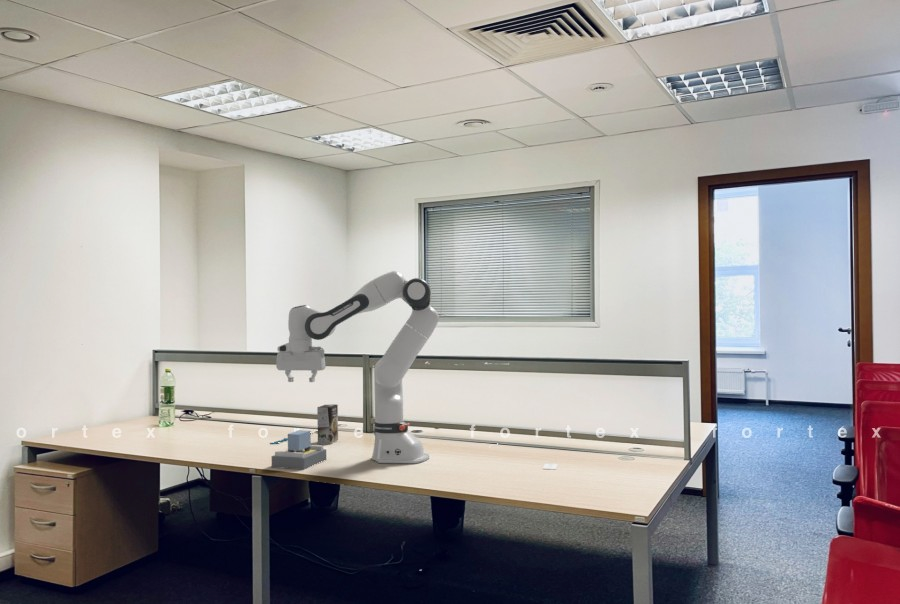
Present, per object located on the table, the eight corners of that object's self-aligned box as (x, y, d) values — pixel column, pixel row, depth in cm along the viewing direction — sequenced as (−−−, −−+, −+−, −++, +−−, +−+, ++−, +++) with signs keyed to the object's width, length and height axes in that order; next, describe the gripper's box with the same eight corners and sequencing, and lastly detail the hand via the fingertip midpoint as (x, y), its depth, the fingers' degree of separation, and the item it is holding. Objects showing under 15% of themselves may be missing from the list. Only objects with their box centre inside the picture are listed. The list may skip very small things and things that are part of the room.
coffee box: (331, 444, 289) (330, 407, 289) (317, 444, 290) (316, 407, 291) (338, 440, 298) (338, 404, 298) (325, 440, 299) (324, 404, 299)
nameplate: (267, 444, 293) (276, 445, 291) (267, 442, 293) (276, 443, 291) (318, 430, 326) (327, 430, 324) (318, 428, 326) (327, 429, 324)
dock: (326, 459, 259) (326, 445, 259) (304, 469, 244) (303, 454, 244) (295, 457, 264) (295, 443, 264) (271, 467, 249) (271, 452, 249)
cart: (310, 450, 257) (310, 430, 257) (299, 454, 249) (299, 434, 250) (299, 449, 259) (299, 430, 259) (287, 453, 251) (287, 434, 251)
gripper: (328, 345, 261) (328, 381, 261) (282, 346, 268) (283, 380, 268) (320, 347, 255) (320, 383, 255) (273, 347, 262) (274, 382, 262)
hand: (301, 381), depth 262 cm, fingers open, 8 cm apart
